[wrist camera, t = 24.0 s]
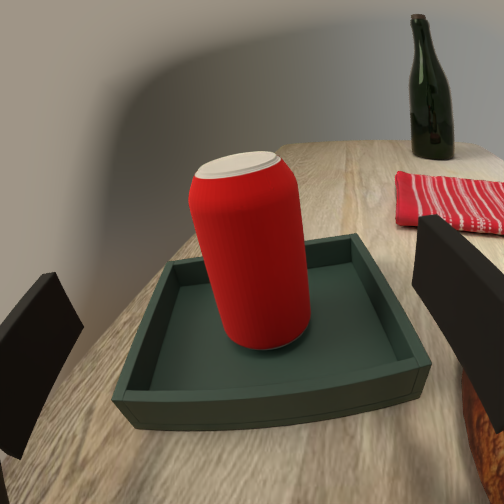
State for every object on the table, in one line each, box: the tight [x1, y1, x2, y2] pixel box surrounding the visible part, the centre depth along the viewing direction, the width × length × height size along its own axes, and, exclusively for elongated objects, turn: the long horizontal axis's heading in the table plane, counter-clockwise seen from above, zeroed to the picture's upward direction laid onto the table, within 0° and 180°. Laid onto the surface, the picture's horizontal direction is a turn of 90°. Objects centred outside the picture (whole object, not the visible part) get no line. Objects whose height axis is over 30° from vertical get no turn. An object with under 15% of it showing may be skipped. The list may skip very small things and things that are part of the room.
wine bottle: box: [409, 14, 455, 159], centre depth 52 cm, size 10×10×33 cm
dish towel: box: [395, 171, 504, 235], centre depth 34 cm, size 17×24×3 cm
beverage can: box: [189, 151, 311, 350], centre depth 19 cm, size 6×6×12 cm
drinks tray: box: [111, 233, 432, 431], centre depth 22 cm, size 18×16×3 cm
